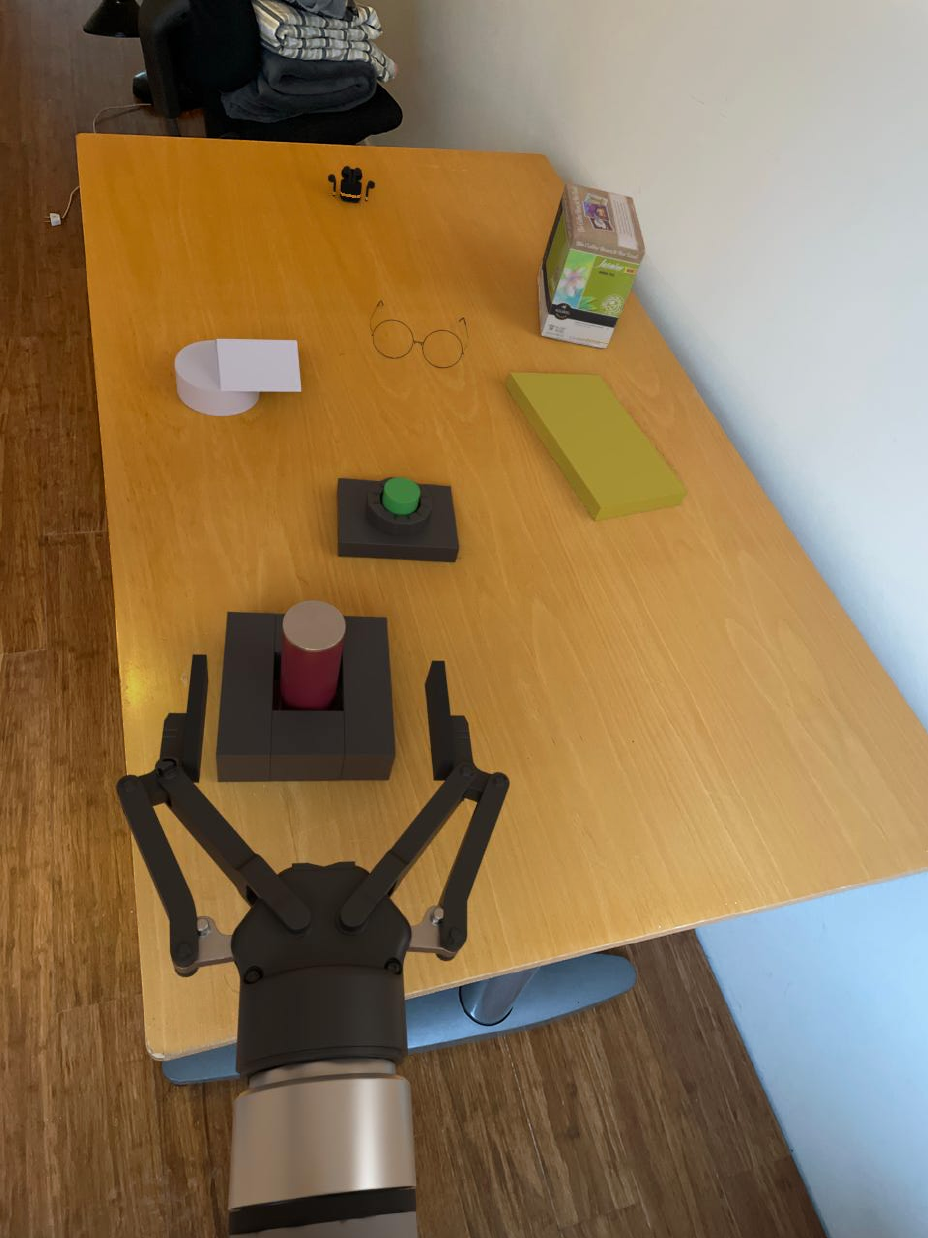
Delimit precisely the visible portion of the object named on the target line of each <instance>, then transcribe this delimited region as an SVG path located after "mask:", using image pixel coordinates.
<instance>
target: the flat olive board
mask: <svg viewBox="0 0 928 1238" xmlns="http://www.w3.org/2000/svg"><path fill="white" fill-rule="evenodd" d="M505 388H506V390H507V391H508V393H509V394H510V396H511V397H512V399H513V400H514V402H515V403H516V405H517V406H518V408H519V409H520V410H521V412H522V414H523V415H524V417H525V418H526V420H527V421H528V423H529V424H530V426H531V428H532V429H533V430H534V432H535V433H536V435H537V436H538V438H539V440H540V441H541V443H542V444H543V446H544V447H545V448H546V450H547V452H548V453H549V455H550V456H551V457H552V459H553V461H554V462H555V463H556V465H557V467H558V468H559V470H560V471H561V473H562V474H563V476H564V477H565V479H566V480H567V482H568V483H569V485H570V486H571V488H572V489H573V491H574V492H575V494H576V495H577V497H578V498H579V500H580V501H581V503H582V505H583V506H584V507H585V509H586V511H587V512H588V514H589V515H590V516H591V518H592V520H593V521H594V522H597V521H598V522H599V521H602V520H607V519H608V520H609V519H612V518H618V517H622V516H623V517H624V516H629V515H635V514H640V513H644V512H649V511H655V510H661V509H665V508H671V507H675V506H681V504H682V503H683V502H684V499H685V497H686V496H687V494H688V489H687V488H686V487H685V485H684V484H683V482H682V481H681V480H680V479H679V477H678V476H677V475H676V474H675V472H674V471H673V469H672V468H671V466H669V464H668V463H667V461H665V459H664V458H663V456H662V455H661V454H660V453H659V451H658V450H657V449H656V447H655V446H654V444H653V443H652V442H651V441H650V439H649V438H648V437H647V436H646V434H645V433H644V431H643V430H642V428H641V427H640V426H639V425H638V424H637V423H636V421H635V419H634V418H633V417H632V416H631V415H630V413H629V411H627V409H626V407H624V406H623V403H621V401H620V400H619V399H618V397H617V396H616V394H615V393H614V392H613V391H612V390H611V388H610V387H609V386H608V384H607V383H606V382H605V381H604V379H603V378H602V376H601V375H600V374H575V373H574V374H571V373H548V372H547V373H545V372H544V373H543V372H521V371H520V372H515V371H509V373H508V376H507V379H506V382H505Z"/></svg>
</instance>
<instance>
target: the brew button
mask: <svg viewBox="0 0 928 1238" xmlns="http://www.w3.org/2000/svg"><path fill="white" fill-rule="evenodd" d="M413 481H414V480H412V479H409V478H407V477H401V476H399V477H395V478H392V479H390V480H388V481H387V482H386V484H385V486H384V492H383V497H382V503H383V505H384V507H385V508H386V509H387V510H388V511H390V512H392V513H394V514H397V515H407V514H410V513H412V512H414V511H415V510H416V508H417V506H418V501H419V496H420V489H419V487H418V485H417V484H416V483H417V482H416V481H414V482H413ZM415 482H416V483H415Z"/></svg>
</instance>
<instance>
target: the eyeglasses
mask: <svg viewBox="0 0 928 1238" xmlns="http://www.w3.org/2000/svg"><path fill="white" fill-rule="evenodd" d="M380 303H381V305H382V306H384V302H383V301H382V300H379V301H378V303H377V305H376V307H375V310H374V311H373V314H372V316H371V318H370V319H373V316H374V314H375V312H376V310H377V308H378V307H379V306H380ZM462 320H463V323H464V327H465V331H466V336H467V338H469V335H468V331H467V323H466V319H465V317H464V316H463V317H461V318H460V319H459V320H458V322H459V323H460V322H461V321H462ZM389 321H395V322H398V323H401V324H403V325H404V326H405V327H406V328H407V329H408V330H409V332H410V334H411V337H412V339H414V335H413V332H412V330H411V328H409V326H408V325H407V324H406V323H405V322H403V321H400V320H397V319H385V320H383V321H381V322H380V323H378V324H377V326H375V328H374V330H373V329H372V325H371V322H372V320H370V324H369V325H370V330H371V331H372V333H371V335H370V336H372V343H373V346H374V348H375V349H376V351H377V352H378V353H379V354H380V355H382V356H384V357H385V358H388V359H393V357H392V356H387V355H385V354H384V353H382V352H381V351H380V350H379V349H378V348H377V346H376V344H375V339H374V335H375V332H376V330H377V328H378V327H379V326H380V325H381V324H383V323H385V322H389ZM436 332H448V333H450V334H452V335H454V336H455V337H456V339H458V340H459V343H460V345H461V355H460V356H459V358H458V360H457V361H456V362H454V363H453V364H452V365H449V366H445V367H442V366H437V365H434V364H432V362H430V361H429V360H428V359H427V357H426V355H425V353H424V345H425V342H426V340H427V339H428V337H430V336H431V335H432V334H434V333H436ZM416 343H417V344H420V346H421V347H422V349H421V350H422V355H423V358H424V359H425V360H426V361H427V362H428V364H430V365H431V366H433V367H435V368H439V369H447V368H451V367H454V366H455V365H457V363H459V362H460V360H461V359H462V356H463V355H465V352H464V351H465V350H466V348H467V346H465V347H464V348H463V343H462V341H461V339H460V338H459V336H457V334H455V333H454V332H452V331H450V330H447V329H437V330H434V331H432V332H431V333H429V334H428V335H427V336H426V337H425V339H424V340H423V342H421V341H418V340H413V342H412V343H411V347H410V349H409V350H408V351H407V352H406V353H405V354H403V355H401V356H398V357H396V359H400V358H401V359H402V358H403V357H406V356H407V355H408V354H409V353H410V352H411V350H412V349H413V346H414V345H416ZM468 343H469V342H467V343H466V345H468Z"/></svg>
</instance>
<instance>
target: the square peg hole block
mask: <svg viewBox="0 0 928 1238" xmlns="http://www.w3.org/2000/svg"><path fill="white" fill-rule="evenodd" d="M285 614H286V613H273V612H247V611H245V612H244V611H227V613H226V623H225V624H226V625H225V637H224V646H223V647H224V648H223V649H224V650H223V660H222V661H223V663H222V672H221V673H222V674H221V685H220V686H221V687H220V698H219V699H220V700H219V712H218V723H217V726H218V727H217V734H216V735H217V736H216V749H215V750H216V751H215V762H216V774H217V782H218V783H256V782H257V783H267V782H268V783H269V782H340V781H341V782H344V781H345V782H347V781H350V782H351V781H353V782H354V781H389V780H390V777H391V773H392V770H393V765H394V763H395V759H396V756H397V751H396V735H395V721H394V705H393V704H394V703H393V702H394V701H393V689H392V674H391V659H390V658H391V657H390V643H389V628H388V627H389V626H388V617H386V616H364V615H363V616H361V615H360V616H359V615H343V617H344V620H345V624H346V628H345V636H344V642H343V649H342V656H341V663H340V670H339V677H338V684H337V690H338V710H334V711H299V710H279V709H278V710H277V709H275V710H274V709H273V704H274V681H279V682H280V677H281V654H282V630H283V619H284V616H285Z"/></svg>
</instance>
